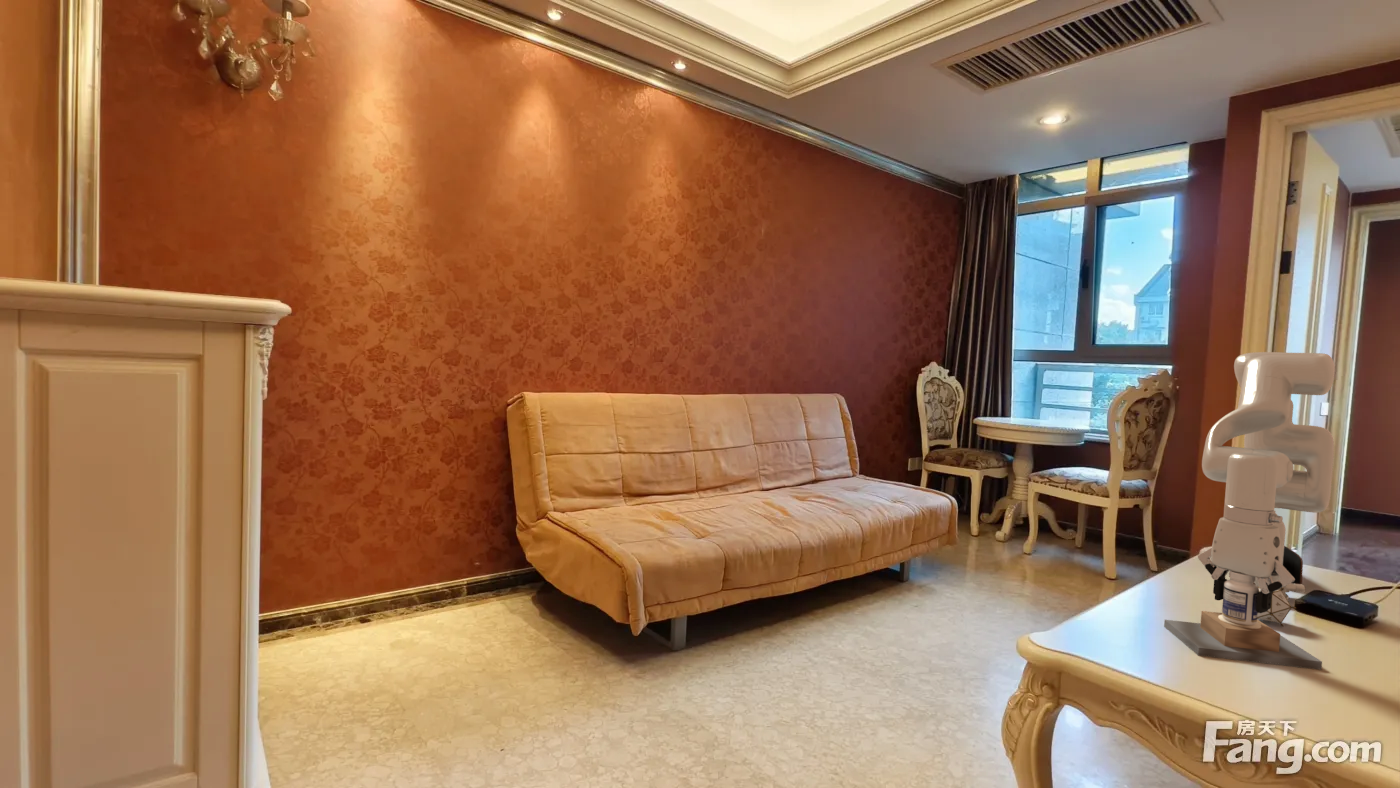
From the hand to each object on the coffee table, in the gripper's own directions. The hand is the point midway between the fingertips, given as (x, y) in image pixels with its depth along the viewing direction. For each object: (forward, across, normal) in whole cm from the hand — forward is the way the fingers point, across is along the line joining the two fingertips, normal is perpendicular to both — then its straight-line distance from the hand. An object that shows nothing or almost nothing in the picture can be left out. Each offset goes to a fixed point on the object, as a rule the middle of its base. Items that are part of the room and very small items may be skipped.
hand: (1240, 604), depth 130 cm
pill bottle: (+4, 0, 0) cm, 4 cm away
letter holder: (+9, +22, -62) cm, 67 cm away
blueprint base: (+9, 0, 0) cm, 9 cm away
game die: (+9, +4, -22) cm, 24 cm away
